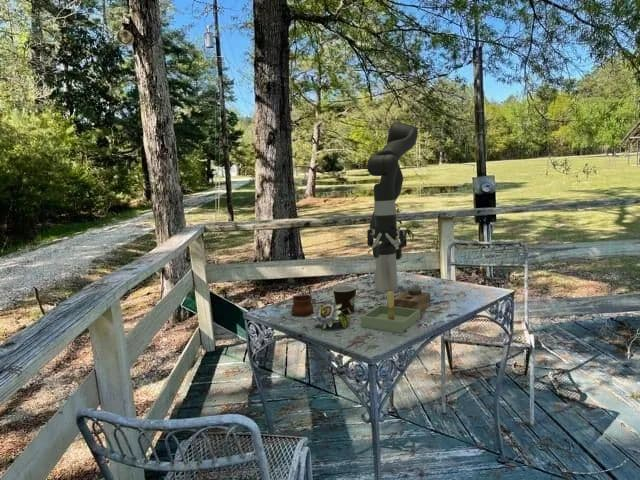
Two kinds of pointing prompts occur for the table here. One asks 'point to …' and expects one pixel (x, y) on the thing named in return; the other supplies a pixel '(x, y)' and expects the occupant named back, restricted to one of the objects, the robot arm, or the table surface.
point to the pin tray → (381, 322)
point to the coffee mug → (345, 298)
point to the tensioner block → (413, 299)
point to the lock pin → (390, 305)
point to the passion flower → (331, 314)
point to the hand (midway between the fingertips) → (387, 258)
